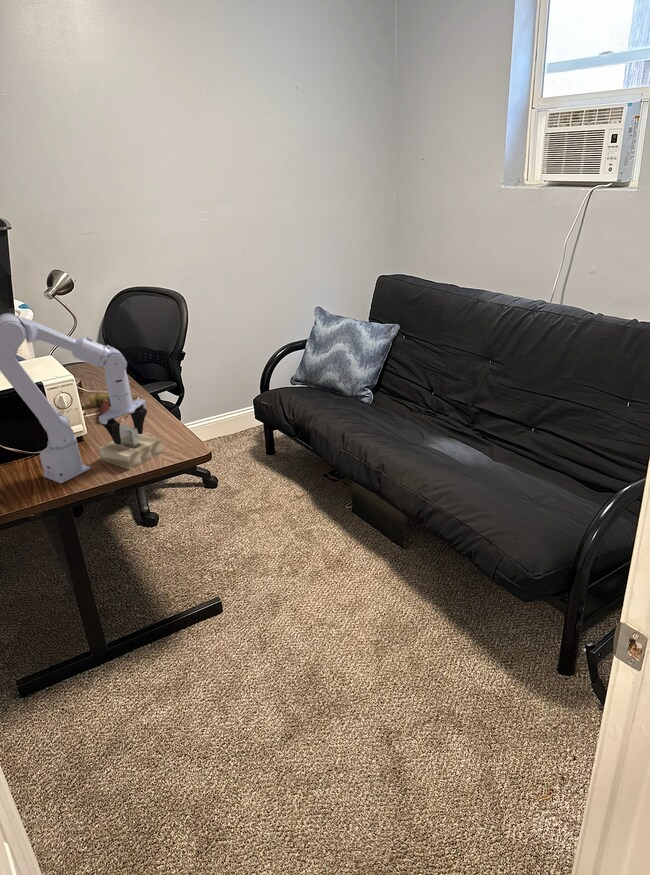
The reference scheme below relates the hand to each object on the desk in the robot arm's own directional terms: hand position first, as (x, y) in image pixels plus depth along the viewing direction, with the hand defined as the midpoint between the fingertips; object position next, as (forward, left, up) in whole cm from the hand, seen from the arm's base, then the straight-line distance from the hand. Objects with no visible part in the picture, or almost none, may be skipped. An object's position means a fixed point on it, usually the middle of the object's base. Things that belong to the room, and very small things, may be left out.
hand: (128, 438), depth 171 cm
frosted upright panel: (0, 0, -6) cm, 6 cm away
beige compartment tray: (0, 0, -6) cm, 6 cm away
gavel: (+18, +35, -6) cm, 40 cm away
